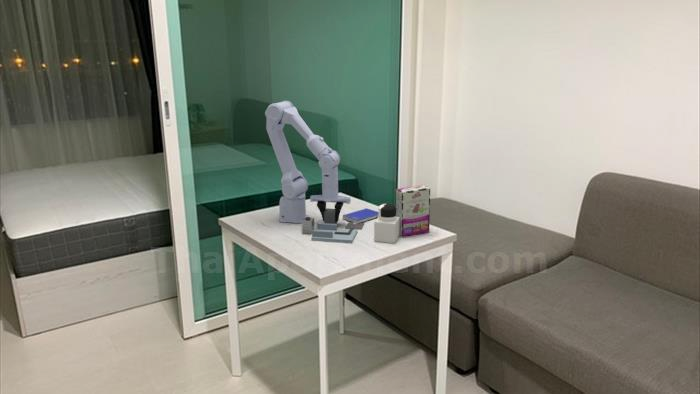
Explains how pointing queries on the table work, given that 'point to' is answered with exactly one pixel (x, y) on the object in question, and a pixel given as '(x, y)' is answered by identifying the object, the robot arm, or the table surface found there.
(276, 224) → the table surface
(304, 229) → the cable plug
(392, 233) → the medicine bottle
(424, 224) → the candy bar box
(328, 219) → the block
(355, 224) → the mat
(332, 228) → the blue-grey panel
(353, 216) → the hard drive
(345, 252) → the table surface
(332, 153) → the robot arm
